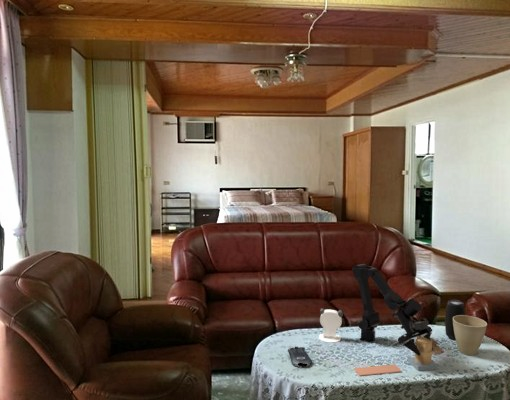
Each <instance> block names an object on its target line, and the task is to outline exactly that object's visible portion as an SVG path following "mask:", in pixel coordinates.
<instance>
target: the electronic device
mask: <svg viewBox="0 0 510 400" xmlns="http://www.w3.org/2000/svg"><path fill="white" fill-rule="evenodd" d="M305 349H306V348H305V346H302V347H299V346H294V347H288V348H287V352H288V355H289V357H290V363H291V365H293V366H295V367H297V368H300V369H301V368H302V366H304V365H306V366H305V368H306V367H309V366H310V365H311V363H312V361H311V360H312V359H311V357H310V356H309V354H308V353H307V351H306V350H305ZM298 364H300V365H298Z"/></svg>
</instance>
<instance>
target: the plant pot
mask: <svg viewBox="0 0 510 400" xmlns="http://www.w3.org/2000/svg"><path fill="white" fill-rule="evenodd" d="M453 327H454V333H455V338H456V340H455V341H456V344H457V347H458V352H459V353H461V354H463V355H465V356H476V355H477V353H478V351H479V350H480V347H481V346H482V345H481V344H482V343H483V340H484V337H485V334H486V331H487V327H488V323H487V321H485V320H484V319H481V318H479V317H476V316H470V315H466V314H465V315H458V316H454V317H453Z"/></svg>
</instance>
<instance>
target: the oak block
mask: <svg viewBox="0 0 510 400" xmlns="http://www.w3.org/2000/svg"><path fill="white" fill-rule="evenodd" d="M415 345H416V347H417V348H418V350H419V352H420V354H421V355H420V356H418V355H417V354H416V353H414V358H415V361H417V362H419V363H421V364H424V365H425V364H428V363H430V362H431V359H432V355H433V353H432V341H431V340H429V339H426V338H424V337H421V338H418V339H417V338H416V339H415Z"/></svg>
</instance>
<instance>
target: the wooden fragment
mask: <svg viewBox="0 0 510 400" xmlns="http://www.w3.org/2000/svg"><path fill="white" fill-rule="evenodd" d="M418 338H421V337H419V336H417V337H416V339H418ZM430 339H431V341H432V347H433V350H432V355H435V356H436V355H440V354H442V353H445V351H444V350H443V349H442V348H441V347H440V346H439V345H438V341H436V340H435V339H433V338H432V337H430Z"/></svg>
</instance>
